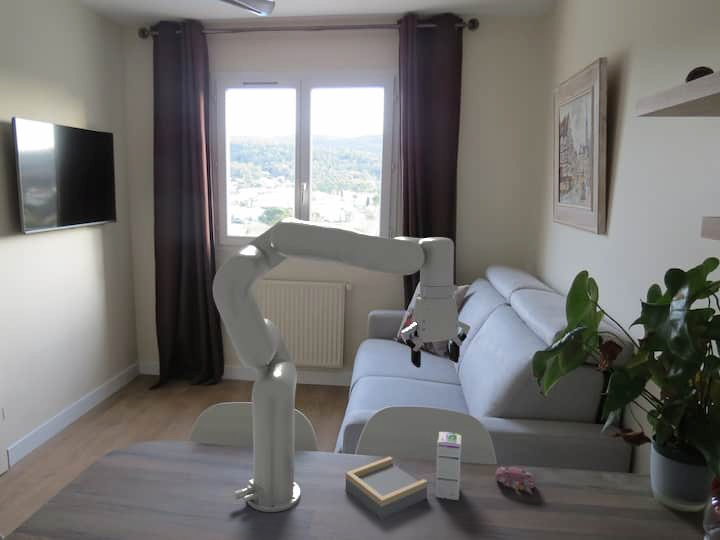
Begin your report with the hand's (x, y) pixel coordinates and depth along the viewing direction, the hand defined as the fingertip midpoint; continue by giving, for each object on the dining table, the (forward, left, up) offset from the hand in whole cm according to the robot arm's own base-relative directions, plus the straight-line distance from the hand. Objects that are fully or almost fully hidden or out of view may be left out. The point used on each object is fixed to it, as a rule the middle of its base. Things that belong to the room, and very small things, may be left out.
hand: (435, 363), depth 121 cm
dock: (-8, +6, -33) cm, 35 cm away
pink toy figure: (+21, -10, -34) cm, 41 cm away
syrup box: (+5, -2, -34) cm, 34 cm away
